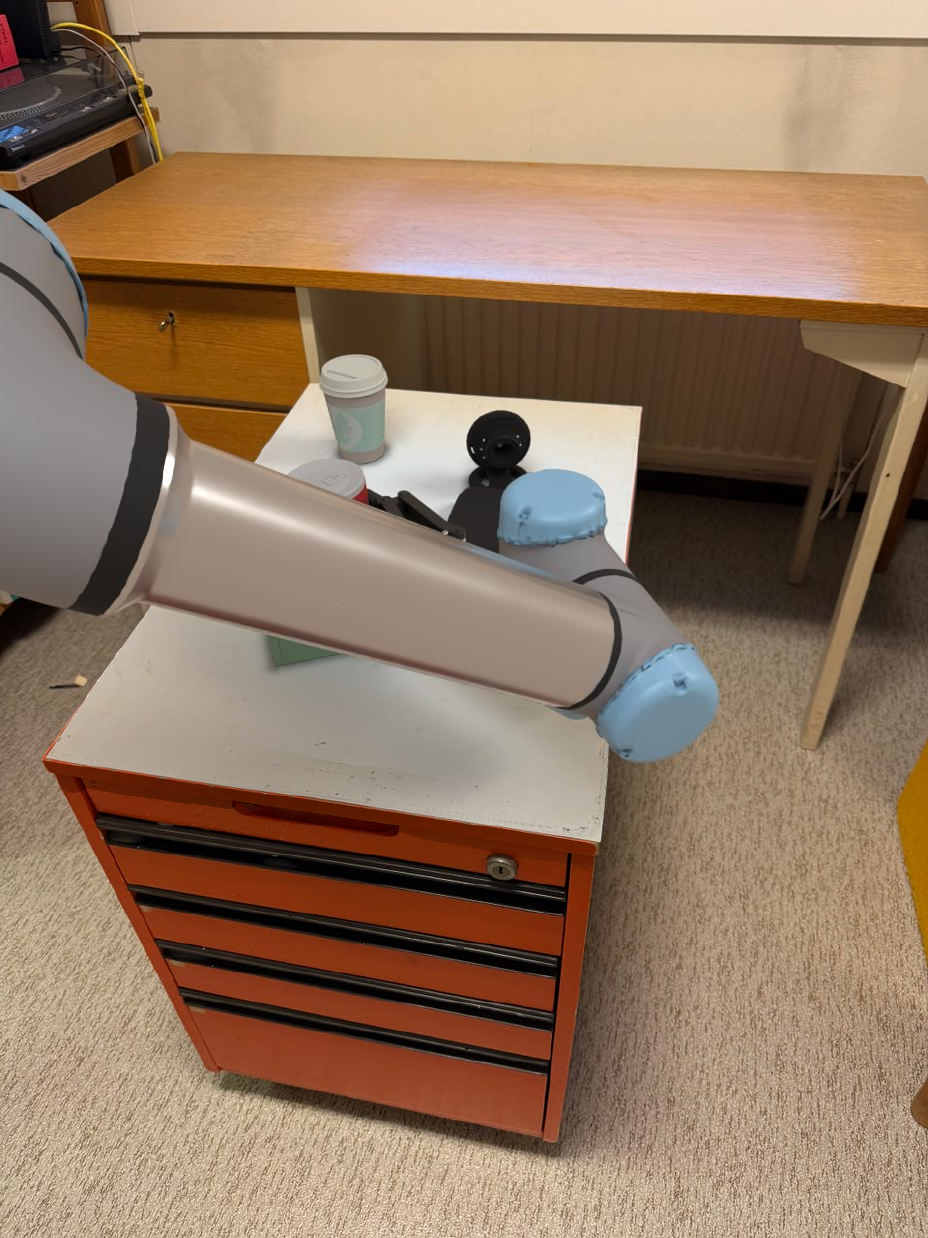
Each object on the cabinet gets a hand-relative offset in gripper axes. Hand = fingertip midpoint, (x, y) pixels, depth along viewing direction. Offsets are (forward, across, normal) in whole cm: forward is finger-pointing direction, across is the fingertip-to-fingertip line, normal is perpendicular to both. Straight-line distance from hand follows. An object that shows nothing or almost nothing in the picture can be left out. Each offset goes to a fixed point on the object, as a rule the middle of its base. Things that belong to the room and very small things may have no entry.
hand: (300, 505), depth 89 cm
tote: (-5, 0, -10) cm, 11 cm away
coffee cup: (+17, +22, -10) cm, 29 cm away
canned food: (-5, 0, -6) cm, 8 cm away
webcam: (-2, +28, -10) cm, 30 cm away
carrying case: (-9, +18, -10) cm, 23 cm away
